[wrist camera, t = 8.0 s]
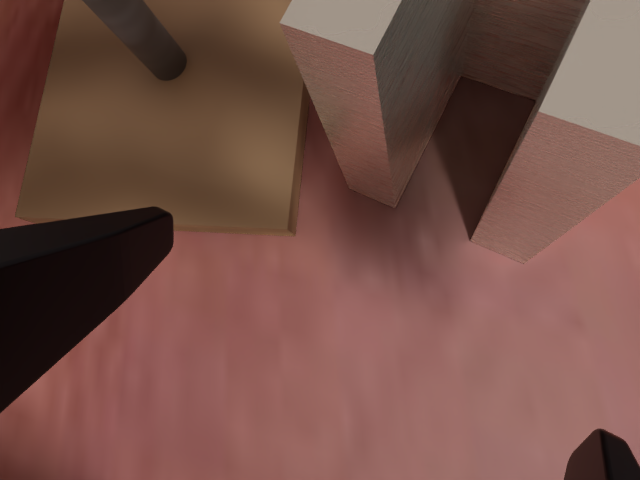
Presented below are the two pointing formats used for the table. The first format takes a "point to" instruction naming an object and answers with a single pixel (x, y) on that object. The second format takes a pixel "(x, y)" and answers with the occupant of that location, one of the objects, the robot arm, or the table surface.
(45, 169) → the peg stand
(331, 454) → the table surface
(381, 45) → the c link
